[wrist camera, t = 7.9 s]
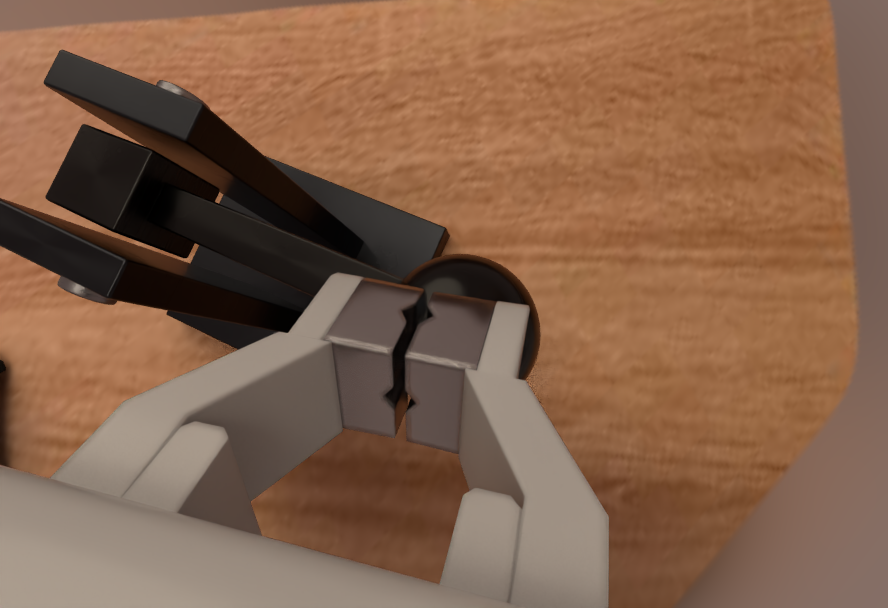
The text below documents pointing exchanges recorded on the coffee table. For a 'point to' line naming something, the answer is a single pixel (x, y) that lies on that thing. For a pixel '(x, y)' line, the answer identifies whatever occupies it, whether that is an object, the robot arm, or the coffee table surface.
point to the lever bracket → (245, 190)
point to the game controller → (2, 366)
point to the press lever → (244, 228)
